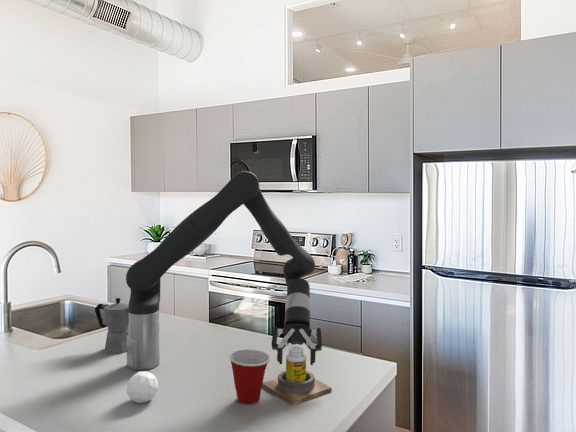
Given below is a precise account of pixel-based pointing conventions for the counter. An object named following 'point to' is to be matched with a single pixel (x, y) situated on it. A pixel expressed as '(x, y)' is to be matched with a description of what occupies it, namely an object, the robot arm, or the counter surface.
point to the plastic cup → (248, 373)
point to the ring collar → (296, 388)
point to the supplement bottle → (296, 365)
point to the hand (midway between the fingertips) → (296, 363)
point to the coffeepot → (115, 325)
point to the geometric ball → (142, 387)
